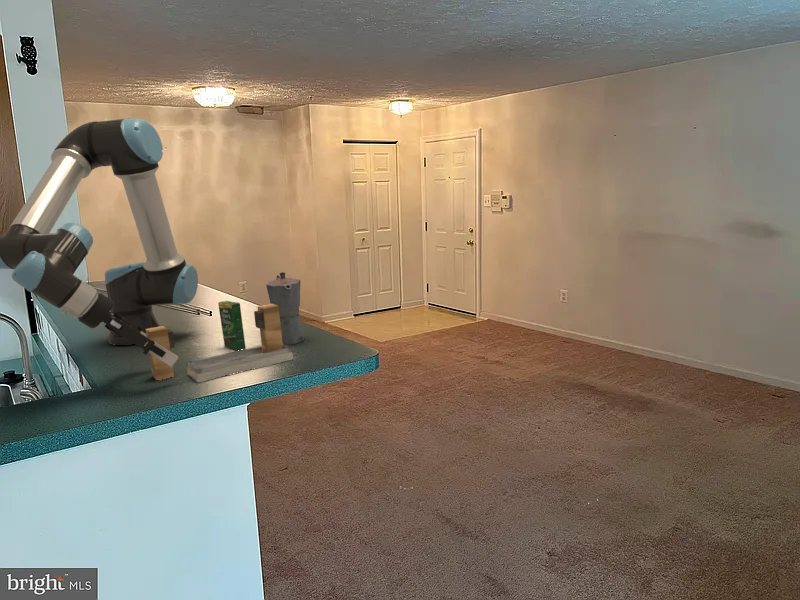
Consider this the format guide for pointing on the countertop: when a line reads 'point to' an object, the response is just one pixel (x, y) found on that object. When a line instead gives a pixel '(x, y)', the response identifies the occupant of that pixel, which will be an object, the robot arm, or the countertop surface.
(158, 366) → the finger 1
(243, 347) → the coffee box
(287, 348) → the rail
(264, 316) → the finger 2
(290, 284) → the moka pot
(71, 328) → the countertop surface
